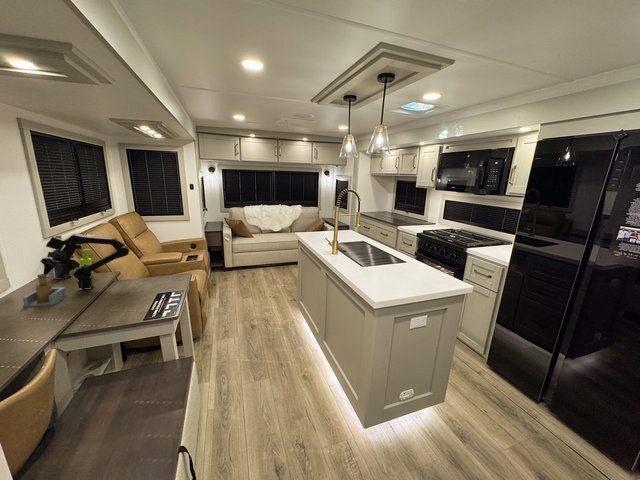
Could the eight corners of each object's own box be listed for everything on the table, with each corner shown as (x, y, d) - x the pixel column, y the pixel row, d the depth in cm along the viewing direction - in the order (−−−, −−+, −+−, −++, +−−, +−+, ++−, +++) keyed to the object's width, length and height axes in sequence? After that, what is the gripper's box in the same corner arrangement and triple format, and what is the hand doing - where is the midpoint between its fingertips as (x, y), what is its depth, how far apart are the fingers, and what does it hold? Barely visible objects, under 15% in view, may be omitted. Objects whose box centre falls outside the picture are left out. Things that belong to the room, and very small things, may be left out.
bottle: (60, 280, 177) (55, 237, 171) (50, 278, 179) (44, 235, 173) (75, 275, 186) (71, 235, 180) (65, 274, 187) (60, 233, 181)
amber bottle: (55, 297, 151) (52, 273, 148) (48, 302, 145) (45, 276, 142) (41, 298, 149) (38, 273, 146) (34, 302, 143) (31, 277, 140)
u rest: (37, 297, 151) (36, 288, 150) (66, 295, 156) (65, 287, 155) (23, 307, 140) (21, 297, 139) (54, 305, 145) (53, 295, 143)
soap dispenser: (96, 275, 190) (93, 248, 186) (87, 278, 184) (84, 250, 180) (89, 274, 191) (86, 247, 187) (79, 277, 184) (76, 250, 180)
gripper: (40, 244, 152) (23, 268, 143) (73, 246, 152) (57, 270, 143) (56, 254, 161) (40, 277, 152) (86, 256, 161) (72, 279, 153)
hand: (52, 275), depth 150 cm, fingers open, 9 cm apart
